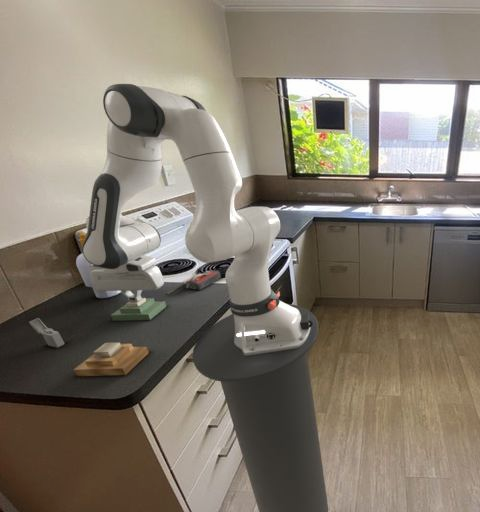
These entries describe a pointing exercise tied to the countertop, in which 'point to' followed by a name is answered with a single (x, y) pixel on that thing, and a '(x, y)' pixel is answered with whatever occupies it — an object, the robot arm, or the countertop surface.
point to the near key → (107, 350)
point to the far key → (136, 303)
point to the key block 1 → (139, 311)
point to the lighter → (47, 333)
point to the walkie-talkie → (199, 281)
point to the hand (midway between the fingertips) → (135, 300)
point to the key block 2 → (112, 362)
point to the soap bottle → (85, 273)
